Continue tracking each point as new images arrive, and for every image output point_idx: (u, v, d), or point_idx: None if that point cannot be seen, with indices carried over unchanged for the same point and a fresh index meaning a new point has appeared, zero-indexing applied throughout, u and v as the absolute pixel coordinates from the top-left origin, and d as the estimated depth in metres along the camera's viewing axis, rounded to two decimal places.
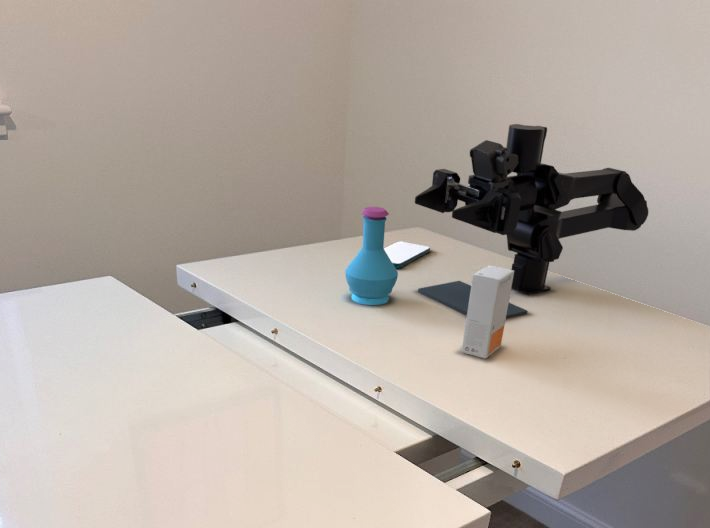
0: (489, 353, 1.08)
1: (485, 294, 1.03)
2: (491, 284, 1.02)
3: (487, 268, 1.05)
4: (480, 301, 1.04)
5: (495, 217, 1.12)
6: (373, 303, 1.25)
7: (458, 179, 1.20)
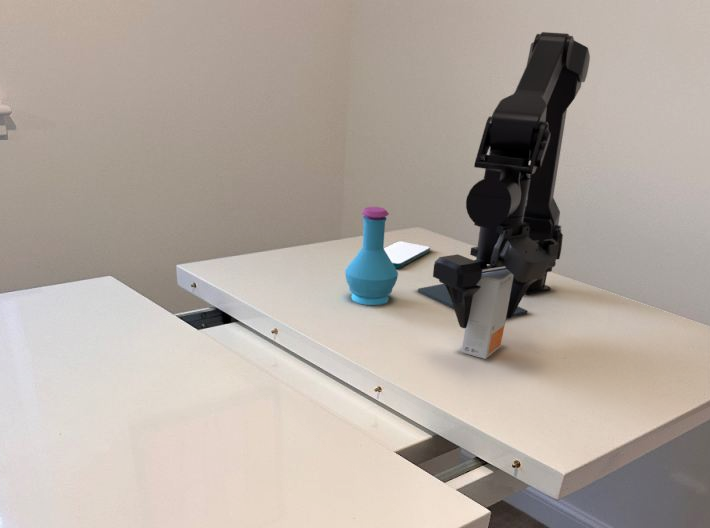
0: (489, 353, 1.08)
1: (485, 294, 1.03)
2: (491, 284, 1.02)
3: None
4: (480, 301, 1.04)
5: None
6: (373, 303, 1.25)
7: None
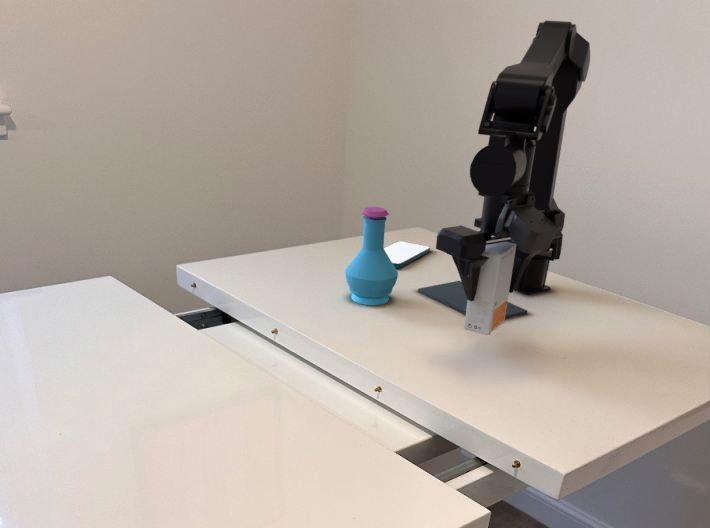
0: (492, 329, 1.06)
1: (487, 270, 1.00)
2: (492, 259, 0.99)
3: None
4: (481, 277, 1.01)
5: None
6: (373, 303, 1.25)
7: None
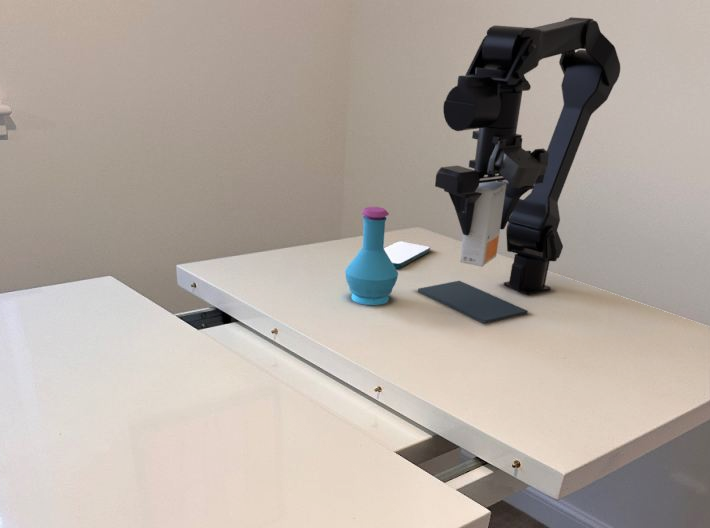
0: (485, 262, 1.19)
1: (480, 205, 1.13)
2: (485, 195, 1.12)
3: None
4: (475, 212, 1.14)
5: None
6: (373, 303, 1.25)
7: None
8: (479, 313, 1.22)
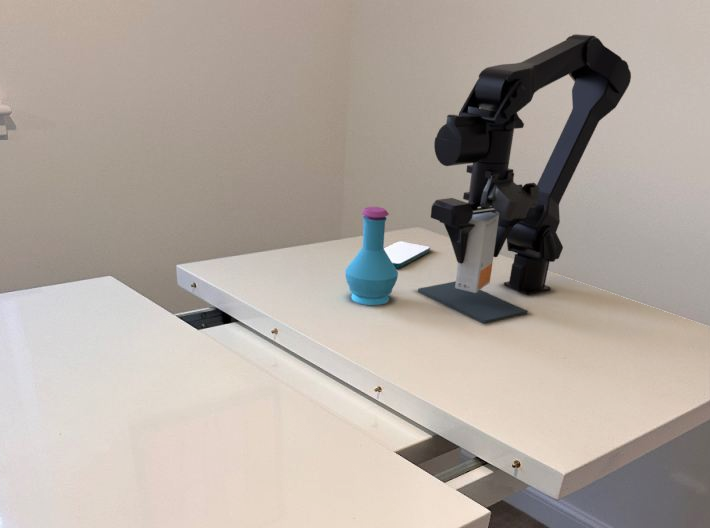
0: (479, 288, 1.24)
1: (473, 235, 1.18)
2: (478, 226, 1.17)
3: None
4: (469, 242, 1.19)
5: None
6: (373, 303, 1.25)
7: None
8: (479, 313, 1.22)
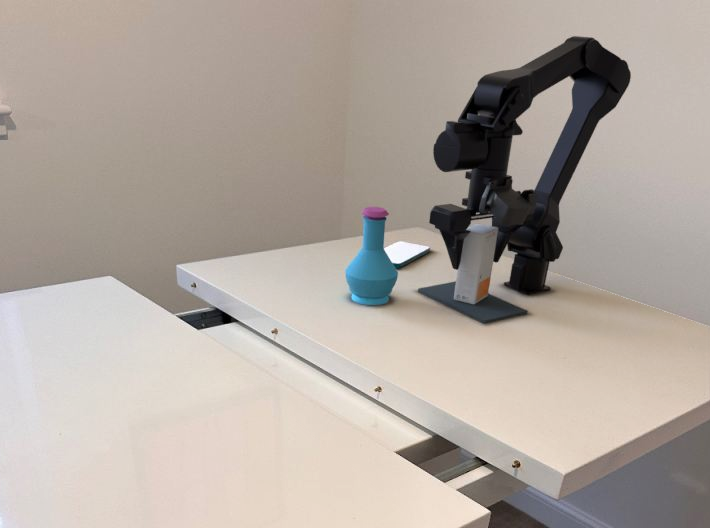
0: (477, 300, 1.25)
1: (473, 247, 1.20)
2: (478, 238, 1.19)
3: (475, 226, 1.22)
4: (468, 253, 1.21)
5: None
6: (373, 303, 1.25)
7: None
8: (479, 313, 1.22)
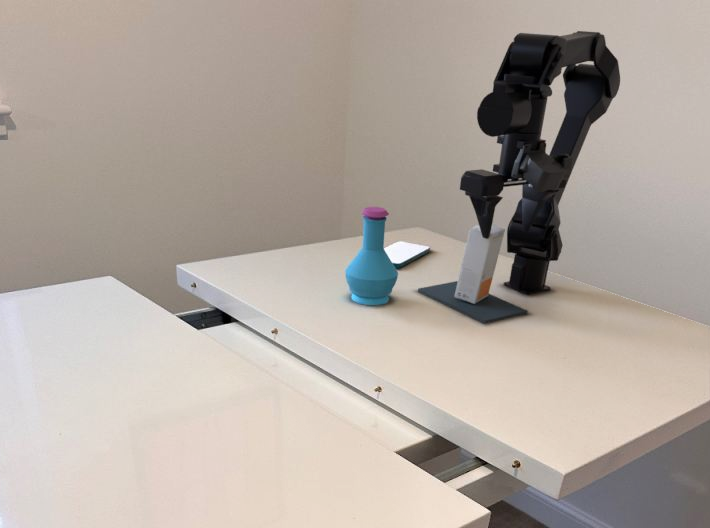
0: (478, 299, 1.25)
1: (479, 246, 1.20)
2: None
3: None
4: (474, 252, 1.21)
5: None
6: (373, 303, 1.25)
7: None
8: (479, 313, 1.22)
